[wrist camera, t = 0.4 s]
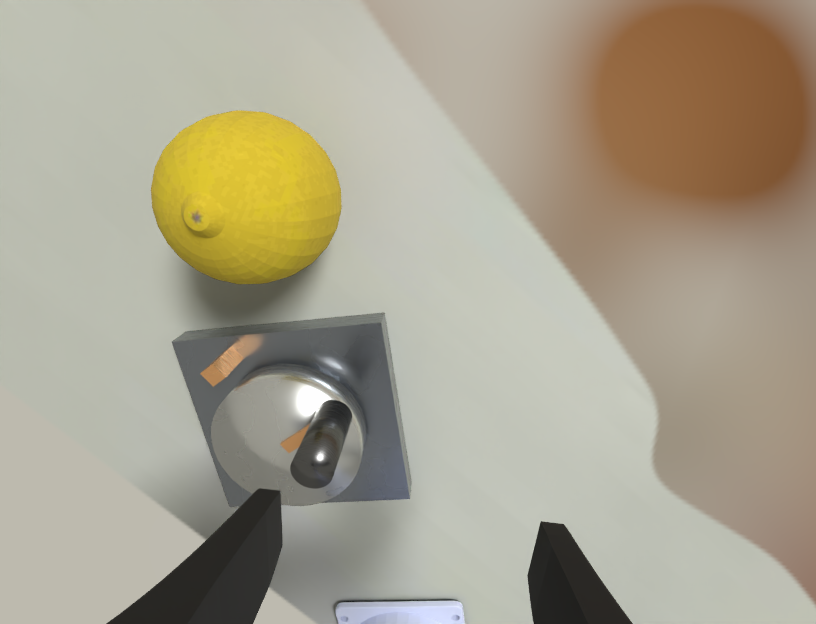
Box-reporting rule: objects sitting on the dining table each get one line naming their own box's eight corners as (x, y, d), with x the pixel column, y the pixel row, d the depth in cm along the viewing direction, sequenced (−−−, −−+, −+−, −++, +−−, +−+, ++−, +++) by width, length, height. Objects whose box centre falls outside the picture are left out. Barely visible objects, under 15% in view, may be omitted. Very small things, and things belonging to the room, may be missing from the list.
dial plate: (411, 482, 24) (407, 527, 21) (239, 490, 25) (213, 534, 22) (384, 312, 20) (375, 339, 17) (186, 331, 21) (147, 359, 19)
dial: (376, 480, 22) (358, 569, 17) (247, 486, 23) (196, 573, 18) (353, 357, 20) (324, 423, 15) (208, 369, 20) (139, 436, 16)
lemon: (348, 264, 19) (289, 337, 12) (228, 237, 19) (95, 294, 12) (369, 134, 17) (314, 125, 10) (235, 104, 17) (81, 73, 10)
